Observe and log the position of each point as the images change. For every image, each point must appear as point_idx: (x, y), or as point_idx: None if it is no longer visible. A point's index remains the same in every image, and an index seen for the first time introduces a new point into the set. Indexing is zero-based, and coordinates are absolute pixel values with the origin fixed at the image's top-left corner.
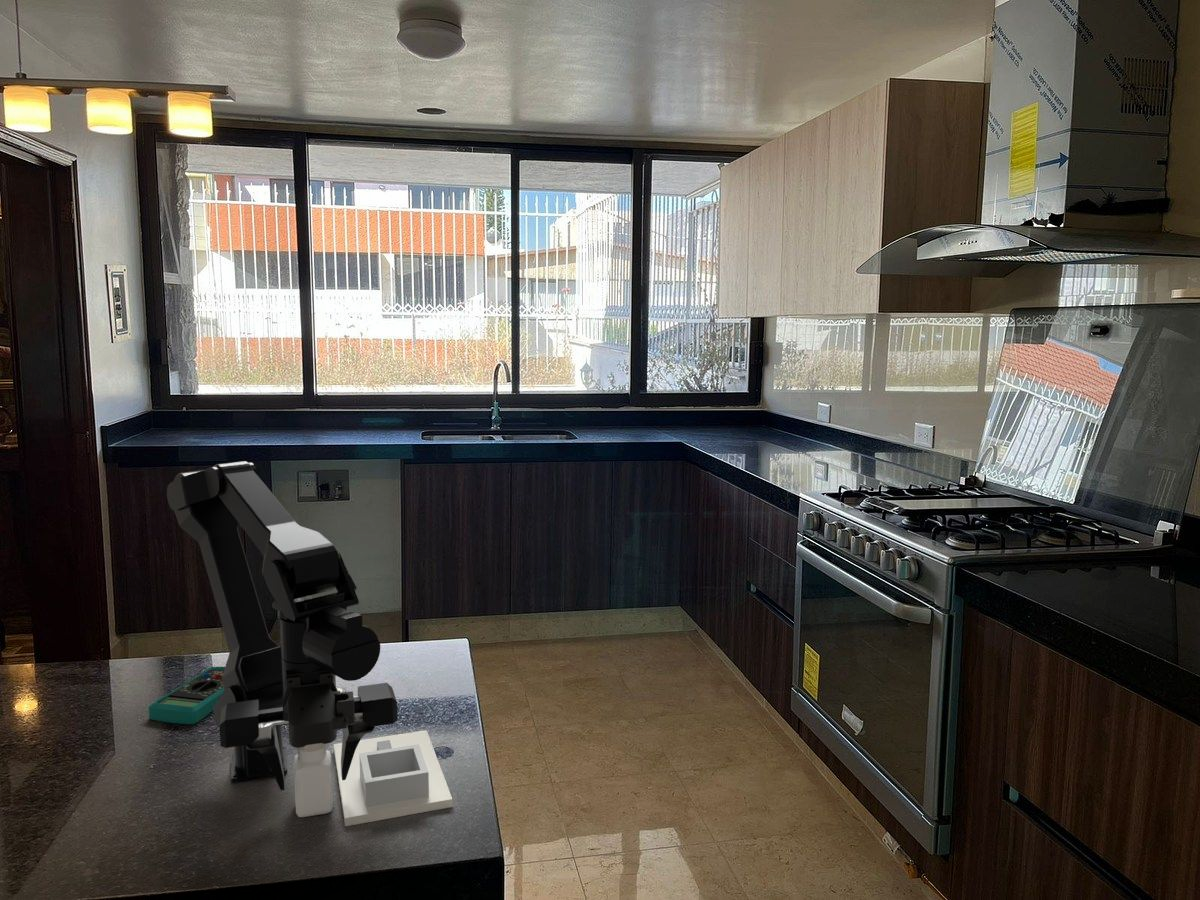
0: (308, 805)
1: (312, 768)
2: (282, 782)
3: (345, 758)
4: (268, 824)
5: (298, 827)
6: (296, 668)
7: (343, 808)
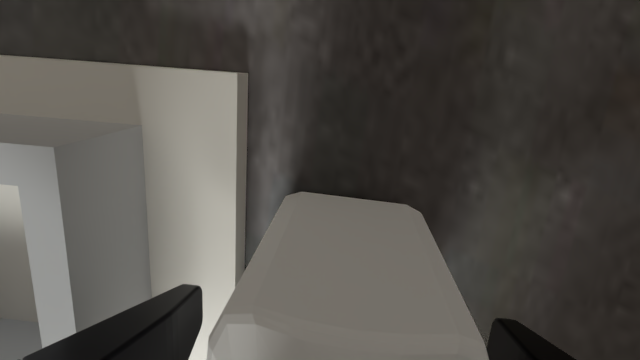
0: (379, 213)
1: (356, 322)
2: (525, 343)
3: (96, 354)
4: (530, 216)
5: (425, 146)
6: None
7: (235, 157)
